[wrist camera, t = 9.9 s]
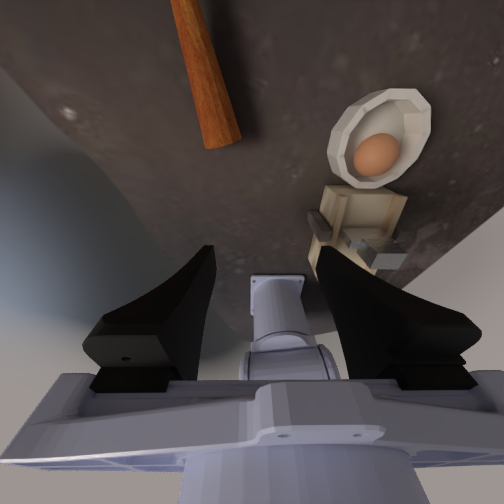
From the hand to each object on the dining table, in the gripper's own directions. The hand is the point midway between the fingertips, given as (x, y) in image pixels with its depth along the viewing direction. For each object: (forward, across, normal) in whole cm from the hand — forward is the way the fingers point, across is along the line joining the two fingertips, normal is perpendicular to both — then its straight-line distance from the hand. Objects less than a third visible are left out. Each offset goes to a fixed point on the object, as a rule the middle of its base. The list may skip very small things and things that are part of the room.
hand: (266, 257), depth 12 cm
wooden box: (+10, -10, +3) cm, 15 cm away
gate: (+6, -10, +2) cm, 12 cm away
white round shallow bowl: (+10, -10, -6) cm, 16 cm away
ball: (+8, -10, -5) cm, 14 cm away
